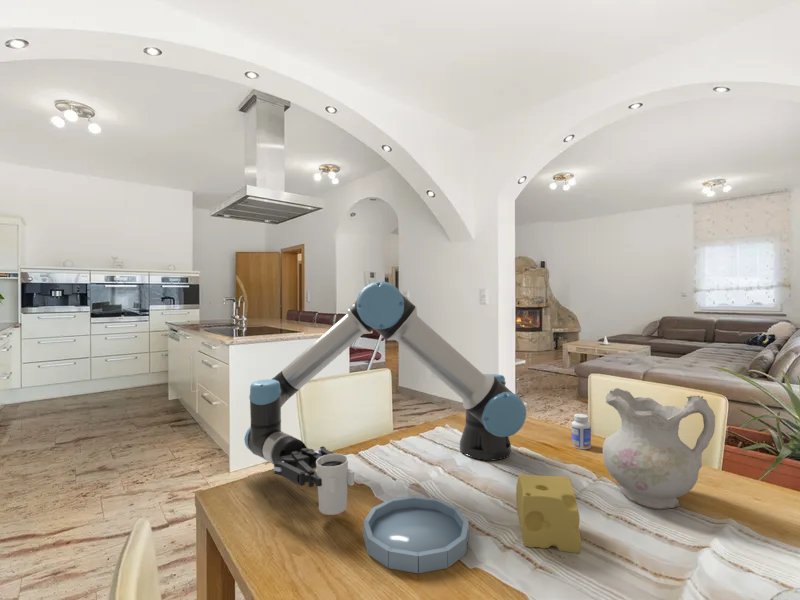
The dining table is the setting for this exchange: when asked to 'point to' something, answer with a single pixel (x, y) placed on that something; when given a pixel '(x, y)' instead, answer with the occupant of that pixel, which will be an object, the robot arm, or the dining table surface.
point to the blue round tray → (416, 534)
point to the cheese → (548, 512)
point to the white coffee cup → (338, 469)
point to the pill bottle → (581, 432)
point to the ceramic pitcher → (654, 449)
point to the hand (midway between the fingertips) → (343, 482)
